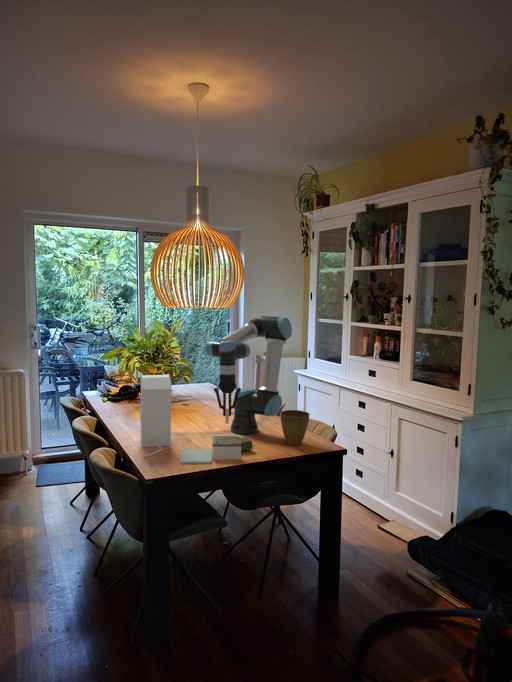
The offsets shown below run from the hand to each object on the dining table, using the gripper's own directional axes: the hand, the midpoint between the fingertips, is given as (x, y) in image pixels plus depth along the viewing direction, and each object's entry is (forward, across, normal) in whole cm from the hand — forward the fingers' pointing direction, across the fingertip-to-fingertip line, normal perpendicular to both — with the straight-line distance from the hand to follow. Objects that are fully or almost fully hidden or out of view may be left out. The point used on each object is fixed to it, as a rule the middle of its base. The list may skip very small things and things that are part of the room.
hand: (227, 422), depth 237 cm
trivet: (+15, -14, -6) cm, 21 cm away
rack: (+15, 0, 0) cm, 15 cm away
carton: (+17, -2, 0) cm, 17 cm away
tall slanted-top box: (+15, -35, +11) cm, 39 cm away
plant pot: (+15, +35, +14) cm, 40 cm away
